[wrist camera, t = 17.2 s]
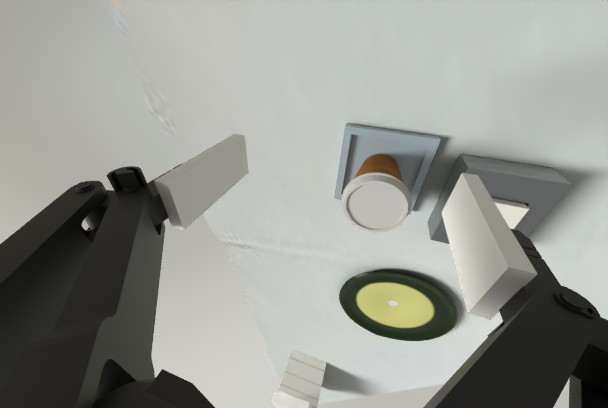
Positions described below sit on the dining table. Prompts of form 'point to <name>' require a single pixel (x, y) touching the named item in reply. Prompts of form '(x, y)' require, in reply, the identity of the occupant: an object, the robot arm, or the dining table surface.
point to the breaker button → (511, 210)
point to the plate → (407, 315)
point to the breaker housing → (505, 190)
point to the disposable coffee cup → (377, 195)
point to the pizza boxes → (300, 382)
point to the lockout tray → (397, 144)
